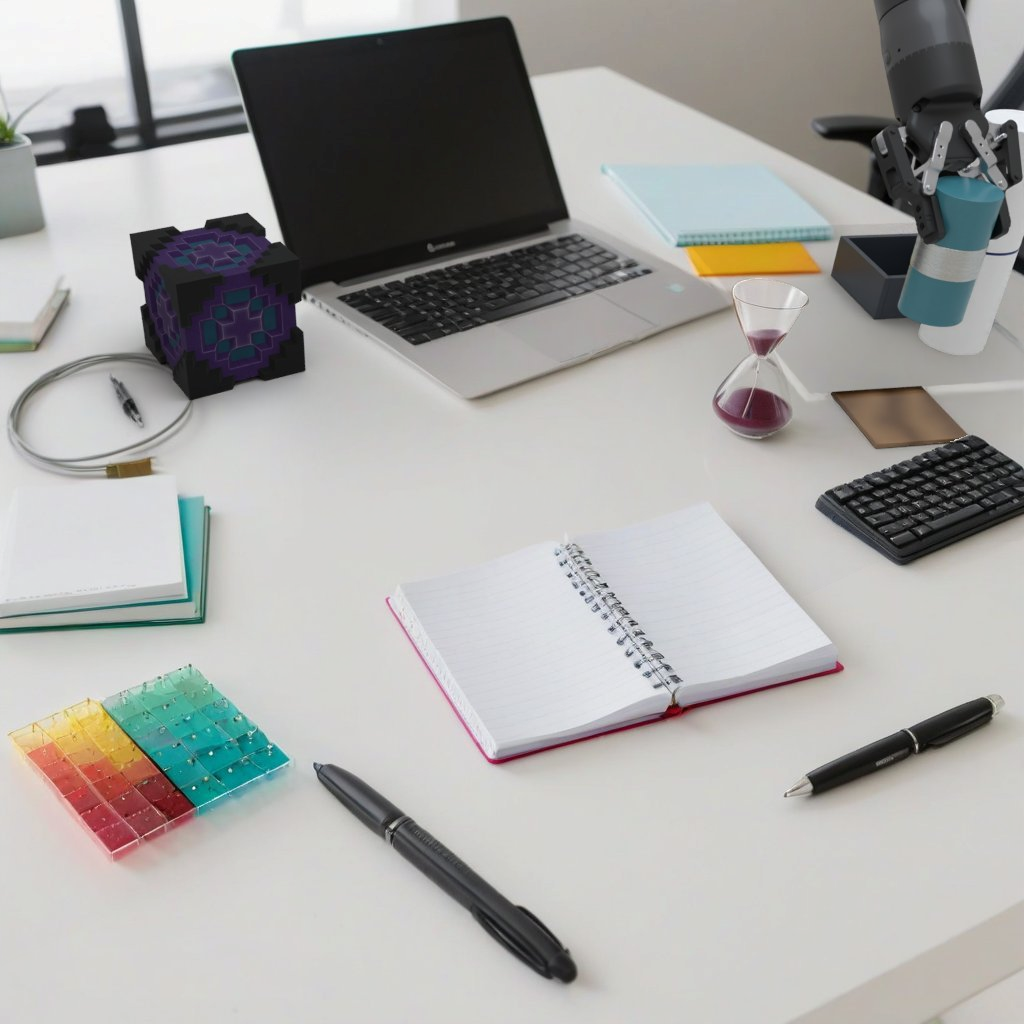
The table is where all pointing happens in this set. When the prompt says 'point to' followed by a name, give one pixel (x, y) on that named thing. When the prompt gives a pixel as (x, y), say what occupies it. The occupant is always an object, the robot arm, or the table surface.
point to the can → (951, 253)
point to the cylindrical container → (986, 269)
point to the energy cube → (219, 303)
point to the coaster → (899, 416)
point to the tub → (874, 270)
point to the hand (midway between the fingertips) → (967, 238)
